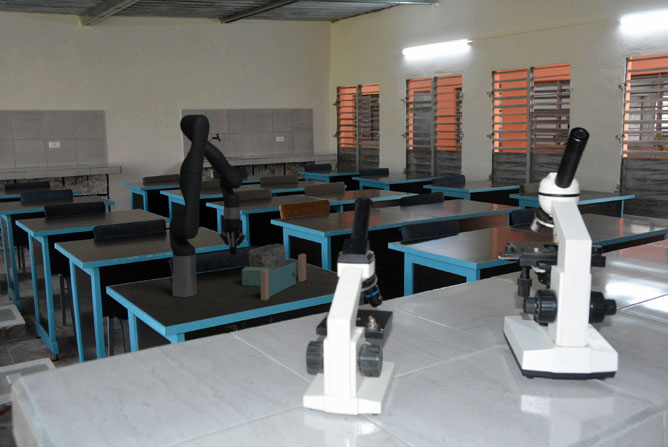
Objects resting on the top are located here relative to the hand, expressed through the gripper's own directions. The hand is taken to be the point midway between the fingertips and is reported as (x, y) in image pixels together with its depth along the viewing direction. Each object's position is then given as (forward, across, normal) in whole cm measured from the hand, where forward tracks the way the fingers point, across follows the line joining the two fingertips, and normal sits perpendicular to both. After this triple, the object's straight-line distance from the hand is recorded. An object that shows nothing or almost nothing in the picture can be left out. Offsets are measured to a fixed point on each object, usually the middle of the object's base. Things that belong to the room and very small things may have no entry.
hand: (233, 254), depth 290 cm
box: (+13, +13, -1) cm, 18 cm away
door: (+12, +29, -6) cm, 32 cm away
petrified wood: (+13, +8, +18) cm, 23 cm away
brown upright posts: (+12, +28, -4) cm, 31 cm away
